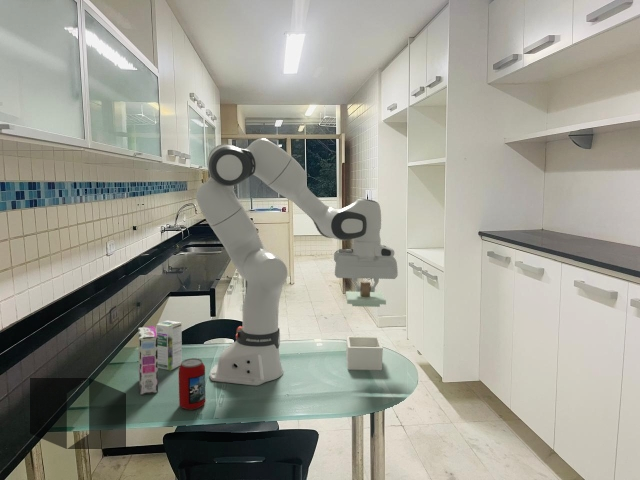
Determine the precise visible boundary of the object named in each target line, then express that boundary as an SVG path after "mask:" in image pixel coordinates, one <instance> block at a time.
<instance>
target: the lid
mask: <svg viewBox="0 0 640 480" xmlns="http://www.w3.org/2000/svg"><path fill="white" fill-rule="evenodd" d="M359 286H361V289H360V290H361V292H356V291H345V299H346V303H347V305H349V304H350V305H351V306H352V307H367V308H368V307H374V308H380V306H381V305H384V306H385V305H387V300H386V298H385V296H384V294H383V292H382V291H375V292H370V286H371V282H370V281H361V282H360V285H359Z"/></svg>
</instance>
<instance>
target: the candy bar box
mask: <svg viewBox="0 0 640 480" xmlns="http://www.w3.org/2000/svg"><path fill="white" fill-rule="evenodd" d="M137 330H138V334H137V335H138V338H137V339H138V341H137V342H138V378H139V380H138V381H139V392H140V394H139V395H141V396H144V395H149V394H150V395H151V394H157V393H158V392H159V368H158V346H157V331H156V326H155V325H154V326H153V325H152V326H144V327H138V329H137Z"/></svg>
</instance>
